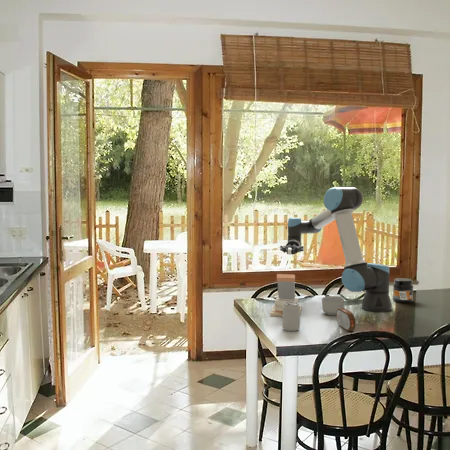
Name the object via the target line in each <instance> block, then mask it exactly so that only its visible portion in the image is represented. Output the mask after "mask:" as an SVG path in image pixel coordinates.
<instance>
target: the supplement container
mask: <svg viewBox="0 0 450 450" xmlns="http://www.w3.org/2000/svg"><path fill="white" fill-rule="evenodd" d="M393 282H394V283H393V285H392V287H393V288H392V300H393V301H394V302H395V301H396V303H399V302H402V303H401V304H409V302H410V303H412V302H413V300H414V299H413V298H414V285H413V282H414V281H413V279H412V278H407V277H404V278H403V277H397V278H396V277H395V278H394V281H393Z"/></svg>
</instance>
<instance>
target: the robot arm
mask: <svg viewBox="0 0 450 450" xmlns="http://www.w3.org/2000/svg"><path fill="white" fill-rule="evenodd" d="M363 202H364V195H363V193H362V191H361V190H360V189H358V187H353V186H347V187H345V186H344V187H343V186H336V187H331V188H329V189H327V190H326V191H325V193H324V196H323V206H324V207H325V208H326V209H325V210H323V211H322V212H320V213H319V214H317V215H314V217H312V218H311V219H307V220H302V218H301V217H289V218H288V219H287V242H286V244H285V246H284V245H280V246H279V247H280V248H279V250H280V251H281V252H283V253H286V255H289V256H290V255H296V254H298V253H300V252H304V250H305V248H304V245H302V235H303V234H305V235H306V234H317V233H320V232H321V231H322V229H323V228H324V227H325V226H326V227H327V225H329V224H331V223H332V222H333V221H335V223H336V227H337V231H338V235H339V239H340V244H341V248H342V252H343V256H344V259H345V265H344V266H343V272H342V274H341V282H342V285H343V286H344V288H345V289H346V290H347V291H349V292H352V293H360V292H364V295H363V298H362V301H361V305H360V306H361V309H362V310H366V311H369V312H375V313H377V312H378V313H379V312H381V313H382V312H391V311H392V309H393V305H392V304H393V303H392V302H391V301H392V300H391V298H390V274H391V273H390V266H388V265H386V264H380V263H371V262H368V261H365V260H364V258H363V253H362V250H361V246H360V242H359V238H358V234H357V233H358V232H357V230H356V226H355V221H354V217H353V213H354V211H356V210H358V209H359V208H360V207H361V206H362V204H363Z"/></svg>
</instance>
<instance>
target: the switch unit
mask: <svg viewBox="0 0 450 450" xmlns="http://www.w3.org/2000/svg"><path fill="white" fill-rule="evenodd" d="M286 302H296V303H298V304H299V298H298V297H297V298H296V297H295V299H279V298H278V296H277V297H276V298H275V299H274V305H273V307H272V308H271V311H270V312H269V313H270V315H269V316H271V317H282V318H283V306H284V305H285V304H284V303H286ZM299 306H300V315H301V313H302V309H303V306H302V305H299Z"/></svg>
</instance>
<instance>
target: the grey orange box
mask: <svg viewBox="0 0 450 450" xmlns="http://www.w3.org/2000/svg"><path fill="white" fill-rule="evenodd" d="M276 282H277V293H278V294H277V295H278V296H277V297H278V298H279V299H295V298H296V294H295V293H296V288H295V285H296V284H295V282H296V275H295V274H292V273H291V274H287V273H276Z"/></svg>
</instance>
